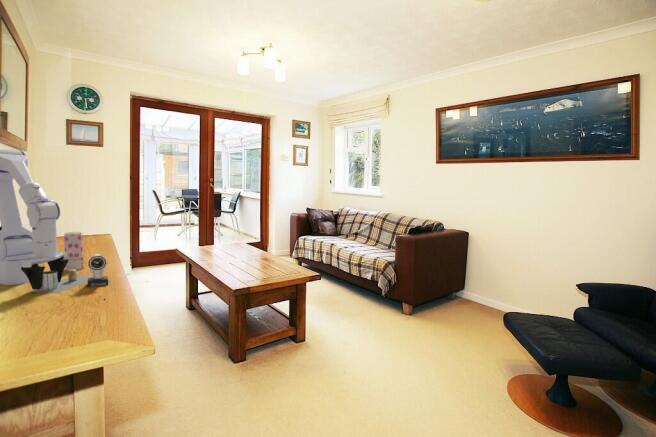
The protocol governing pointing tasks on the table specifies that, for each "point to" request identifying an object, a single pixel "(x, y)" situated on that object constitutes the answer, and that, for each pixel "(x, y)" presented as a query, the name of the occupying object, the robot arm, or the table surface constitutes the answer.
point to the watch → (97, 270)
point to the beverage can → (74, 250)
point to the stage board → (67, 284)
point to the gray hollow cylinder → (49, 281)
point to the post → (72, 275)
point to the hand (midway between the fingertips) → (46, 285)
